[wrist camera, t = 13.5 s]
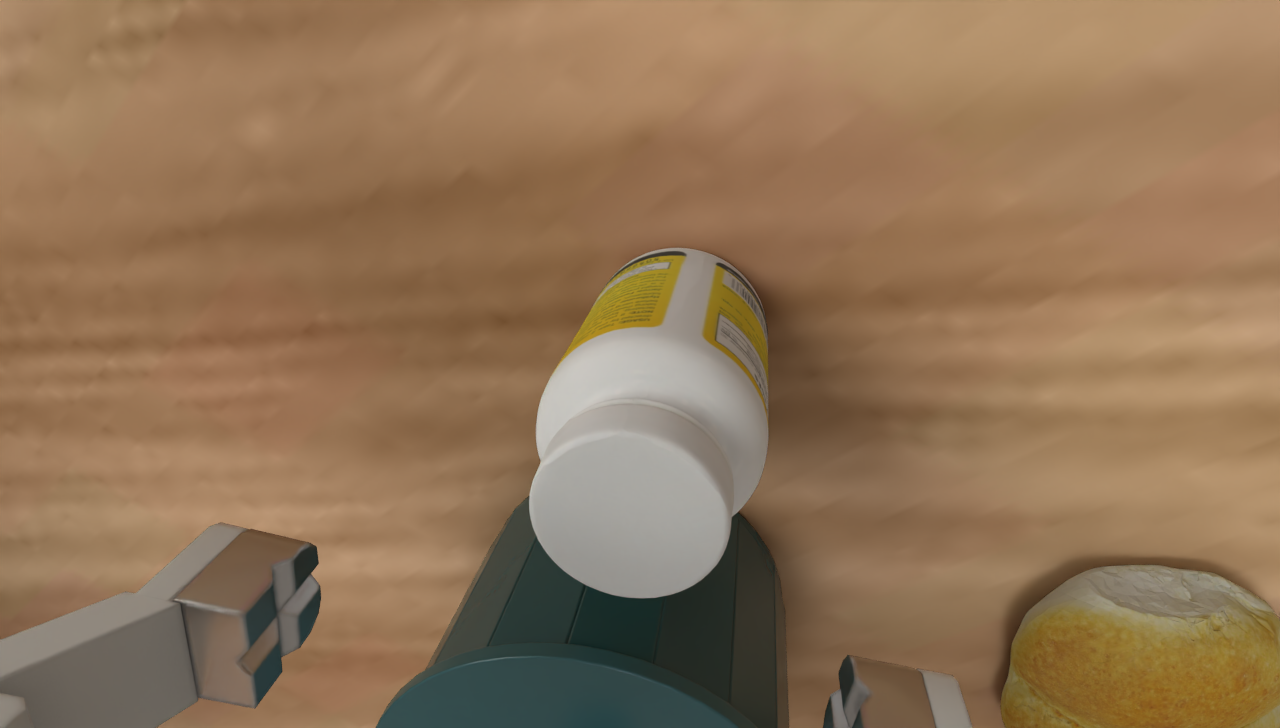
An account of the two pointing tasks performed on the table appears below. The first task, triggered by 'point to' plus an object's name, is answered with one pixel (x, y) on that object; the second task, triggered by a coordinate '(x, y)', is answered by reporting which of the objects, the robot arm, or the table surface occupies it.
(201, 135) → the table surface
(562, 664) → the pot lid
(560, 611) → the pot
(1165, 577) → the bread roll
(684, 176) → the table surface
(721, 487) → the supplement bottle
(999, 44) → the table surface
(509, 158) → the table surface
